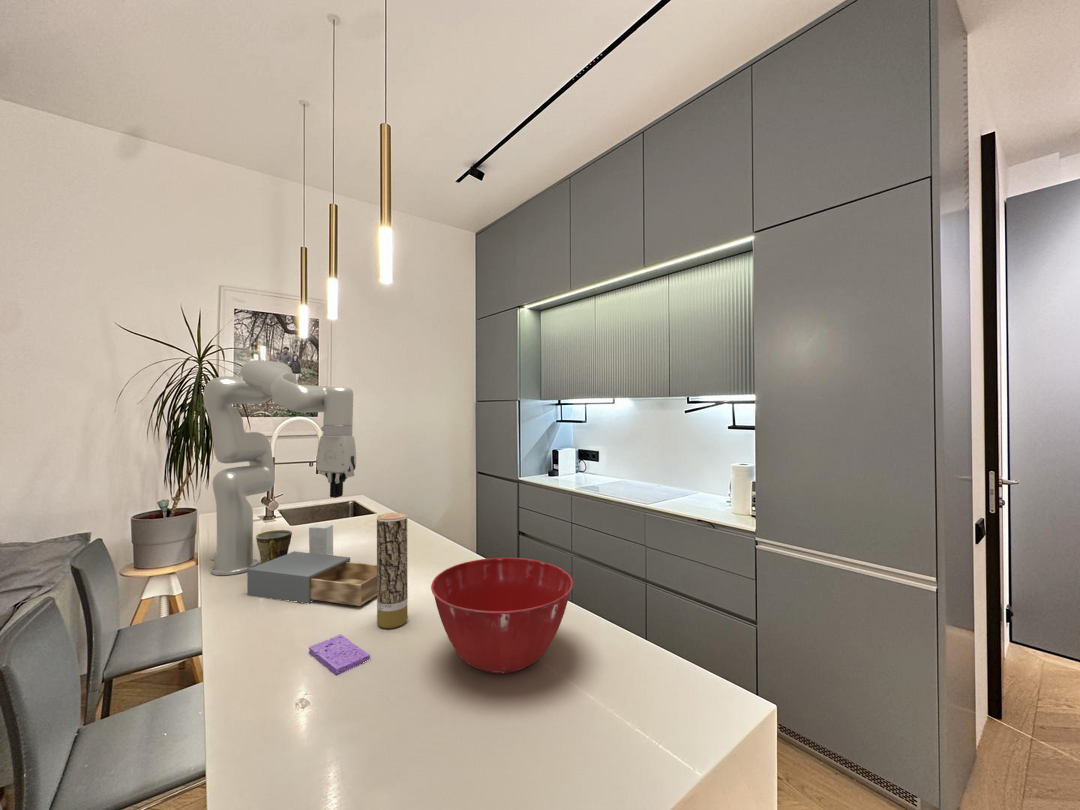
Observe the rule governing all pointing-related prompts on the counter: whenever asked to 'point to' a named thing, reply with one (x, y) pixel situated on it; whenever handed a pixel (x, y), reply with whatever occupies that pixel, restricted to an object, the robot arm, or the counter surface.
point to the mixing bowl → (501, 610)
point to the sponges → (338, 654)
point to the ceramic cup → (273, 544)
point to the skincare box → (321, 539)
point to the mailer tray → (345, 584)
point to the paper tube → (392, 570)
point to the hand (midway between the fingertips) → (336, 496)
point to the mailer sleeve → (289, 575)
